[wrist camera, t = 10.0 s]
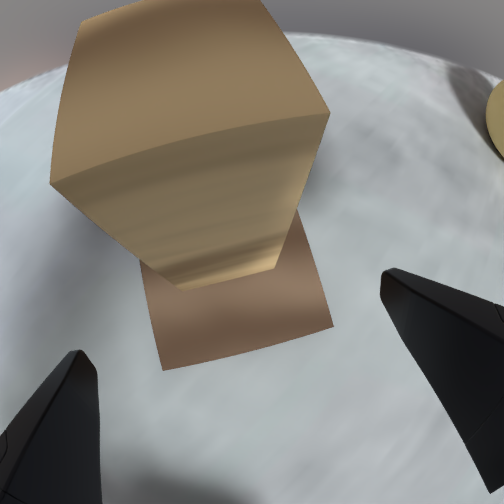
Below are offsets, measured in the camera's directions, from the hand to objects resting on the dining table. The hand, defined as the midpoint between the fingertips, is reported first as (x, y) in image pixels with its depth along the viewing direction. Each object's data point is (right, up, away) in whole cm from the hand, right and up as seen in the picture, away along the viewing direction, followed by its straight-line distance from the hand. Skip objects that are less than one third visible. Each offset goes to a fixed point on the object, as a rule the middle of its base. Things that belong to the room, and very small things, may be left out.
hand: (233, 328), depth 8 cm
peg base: (-2, +2, +13) cm, 13 cm away
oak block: (-2, +3, +9) cm, 10 cm away
